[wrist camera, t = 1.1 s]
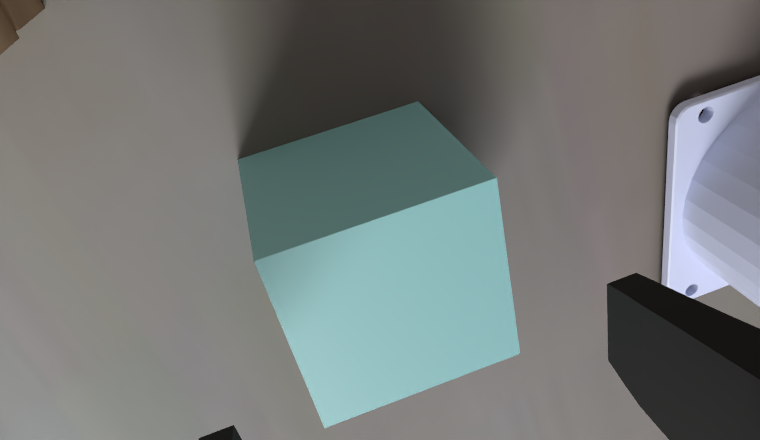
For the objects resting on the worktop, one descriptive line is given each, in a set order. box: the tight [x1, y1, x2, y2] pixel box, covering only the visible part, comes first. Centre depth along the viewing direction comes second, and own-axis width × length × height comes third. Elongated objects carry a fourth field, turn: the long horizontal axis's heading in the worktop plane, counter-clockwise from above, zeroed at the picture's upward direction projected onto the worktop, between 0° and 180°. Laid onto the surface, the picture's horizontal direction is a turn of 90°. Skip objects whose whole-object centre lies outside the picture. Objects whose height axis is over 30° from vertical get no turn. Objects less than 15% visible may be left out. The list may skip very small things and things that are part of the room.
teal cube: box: [238, 101, 520, 428], centre depth 15 cm, size 5×5×5 cm
